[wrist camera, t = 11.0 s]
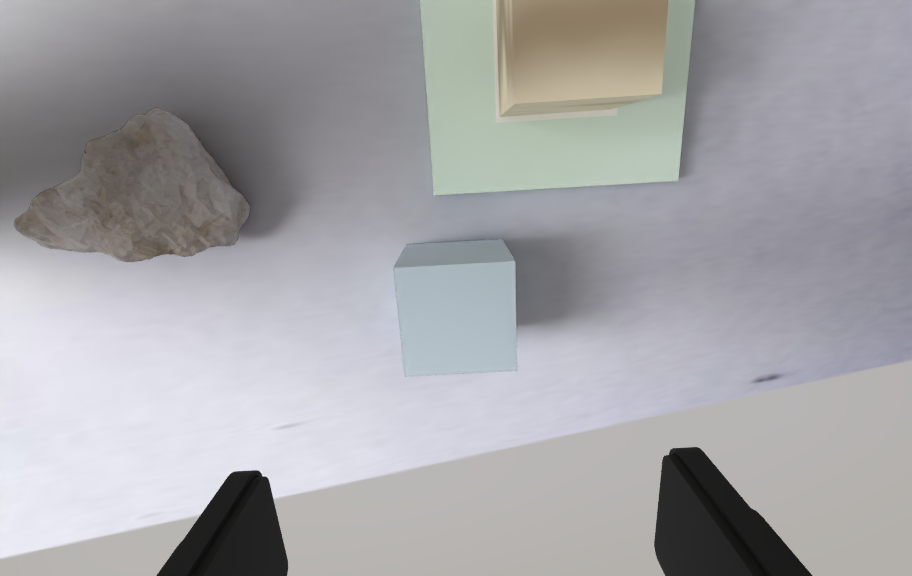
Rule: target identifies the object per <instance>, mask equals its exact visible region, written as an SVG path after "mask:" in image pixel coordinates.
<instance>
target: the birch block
mask: <svg viewBox="0 0 912 576" xmlns="http://www.w3.org/2000/svg"><path fill="white" fill-rule="evenodd" d="M667 13H668V0H496V15H497V49H498V82H499V115H500V117H505V116H520V115H534V114H549V113H564V112H579V111H594V110H609V109H613V108H616V107H620V106H623V105H626V104H630V103H633V102H636V101H640V100H643V99H646V98H650V97H653V96H656V95H660V94H661V93H662V80H663V66H664V53H665V40H666V26H667Z"/></svg>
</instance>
